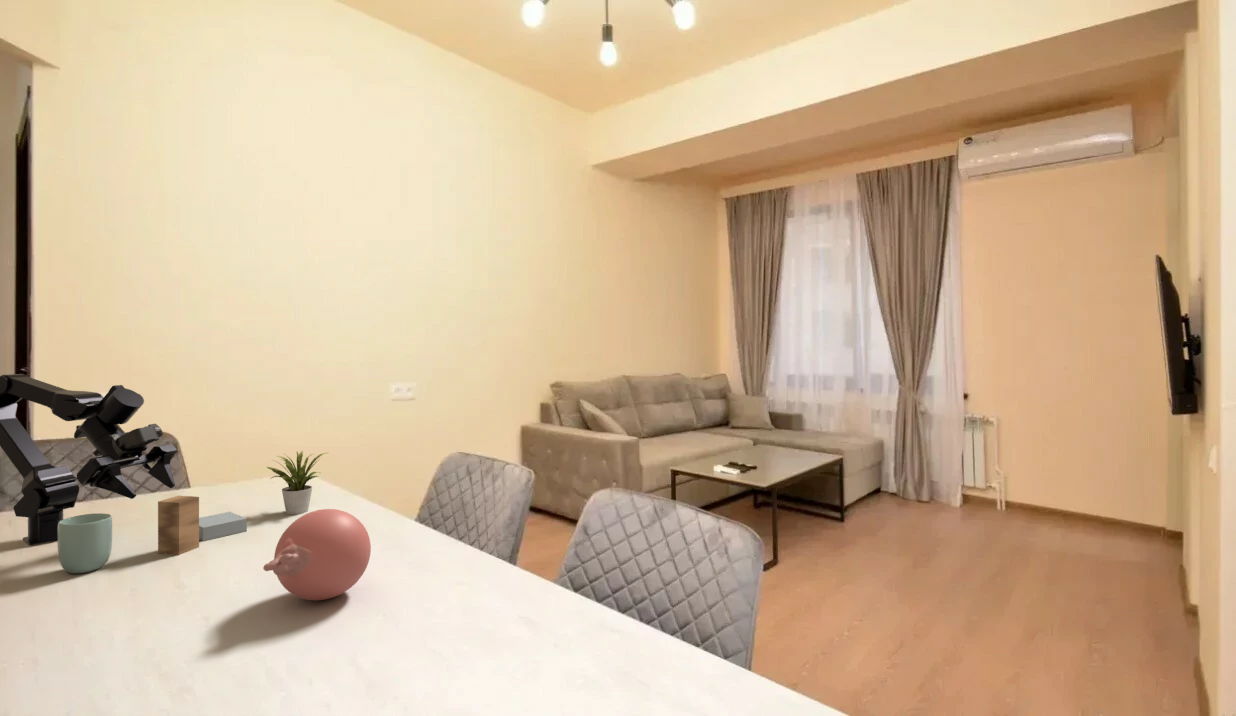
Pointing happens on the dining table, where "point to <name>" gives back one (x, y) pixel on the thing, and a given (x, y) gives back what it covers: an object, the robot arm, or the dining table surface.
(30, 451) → the robot arm
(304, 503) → the house plant
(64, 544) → the cup
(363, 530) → the balloon
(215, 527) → the pedestal
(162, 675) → the dining table surface
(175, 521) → the wooden block
